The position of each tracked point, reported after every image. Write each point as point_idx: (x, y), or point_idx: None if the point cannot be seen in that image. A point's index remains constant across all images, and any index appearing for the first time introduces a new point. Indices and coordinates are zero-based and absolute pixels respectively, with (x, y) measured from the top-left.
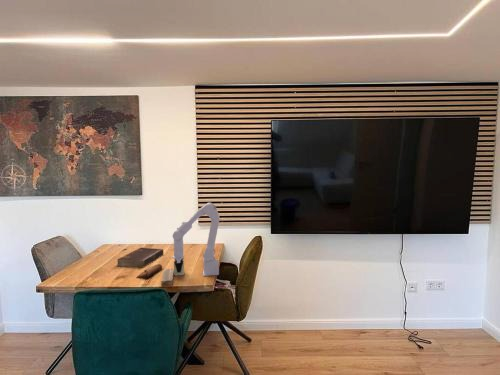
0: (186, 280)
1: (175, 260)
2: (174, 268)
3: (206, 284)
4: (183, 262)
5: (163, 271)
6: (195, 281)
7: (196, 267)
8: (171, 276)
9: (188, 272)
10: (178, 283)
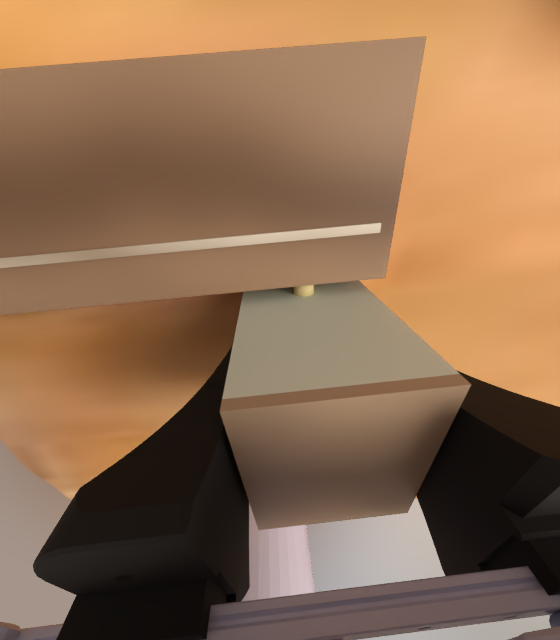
0: (111, 405)
1: (484, 430)
2: (237, 339)
3: (71, 499)
4: (301, 523)
5: (260, 59)
6: (106, 454)
7: None
8: (1, 296)
9: None
10: (5, 355)
